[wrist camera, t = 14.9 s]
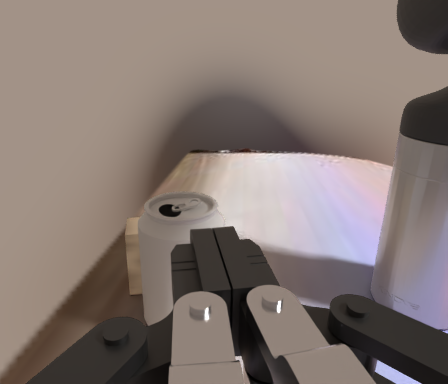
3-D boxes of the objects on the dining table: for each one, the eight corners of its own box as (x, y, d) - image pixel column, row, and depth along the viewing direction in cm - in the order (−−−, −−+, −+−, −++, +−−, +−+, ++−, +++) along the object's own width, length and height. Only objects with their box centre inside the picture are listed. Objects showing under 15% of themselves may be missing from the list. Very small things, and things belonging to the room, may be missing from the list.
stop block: (217, 266, 44) (218, 212, 42) (223, 286, 40) (225, 228, 38) (131, 273, 42) (127, 218, 40) (129, 294, 39) (124, 234, 36)
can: (139, 301, 38) (130, 191, 34) (209, 288, 40) (209, 183, 36) (151, 355, 31) (143, 226, 27) (234, 334, 34) (238, 213, 29)
